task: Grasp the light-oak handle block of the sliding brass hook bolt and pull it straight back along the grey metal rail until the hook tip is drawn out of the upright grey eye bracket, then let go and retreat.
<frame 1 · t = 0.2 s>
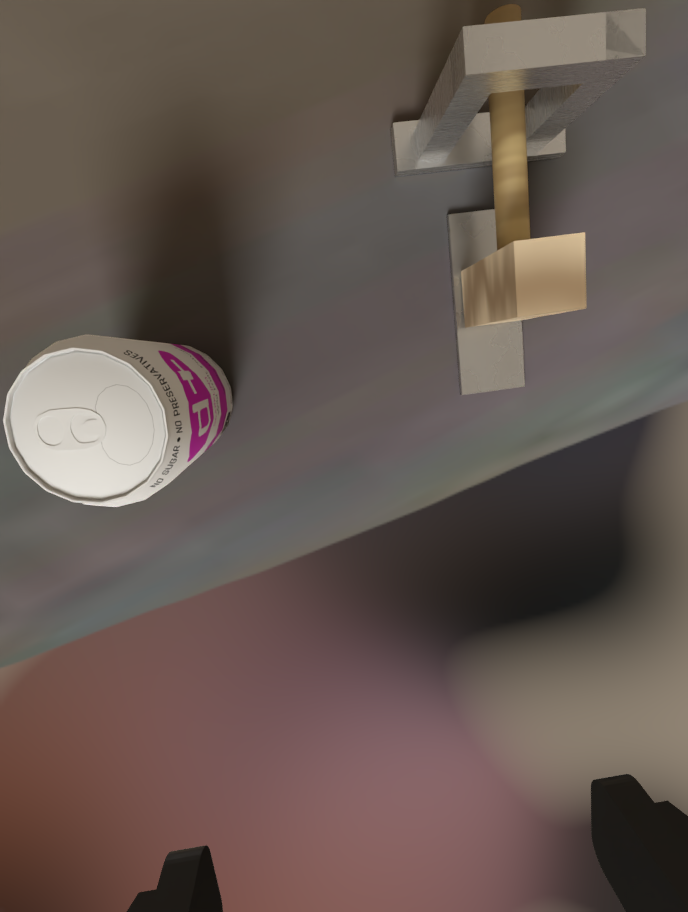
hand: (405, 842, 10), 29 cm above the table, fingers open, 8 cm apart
supplement can: (179, 399, 35), on the table
eye bracket: (475, 144, 33), on the table
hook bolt: (510, 175, 29), point 5 cm above the table, slide at 0.0 cm
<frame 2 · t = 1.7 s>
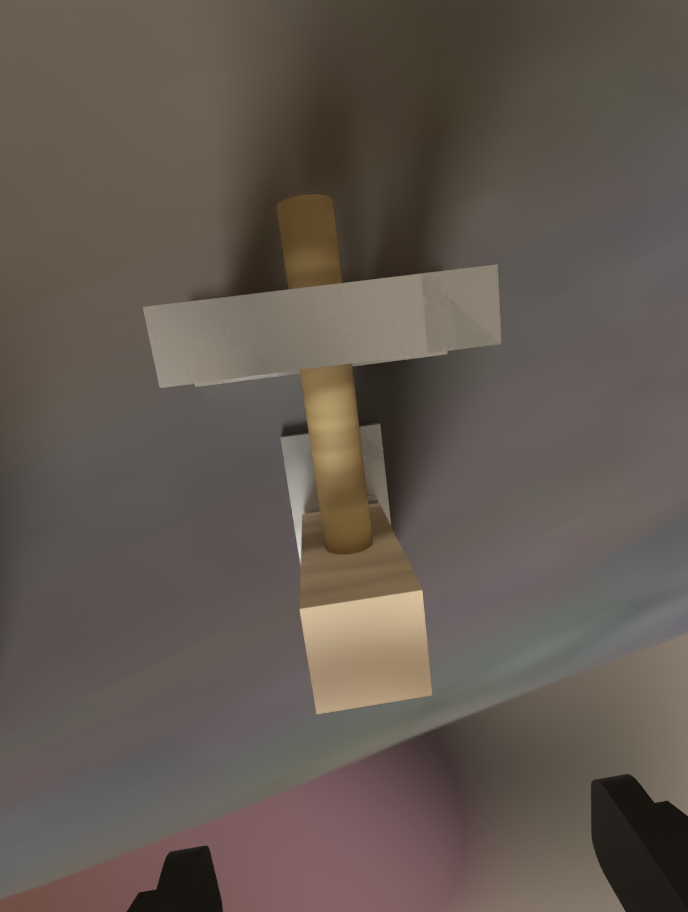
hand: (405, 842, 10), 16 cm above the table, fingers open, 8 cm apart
eye bracket: (318, 338, 23), on the table
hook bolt: (334, 435, 18), point 5 cm above the table, slide at 0.0 cm
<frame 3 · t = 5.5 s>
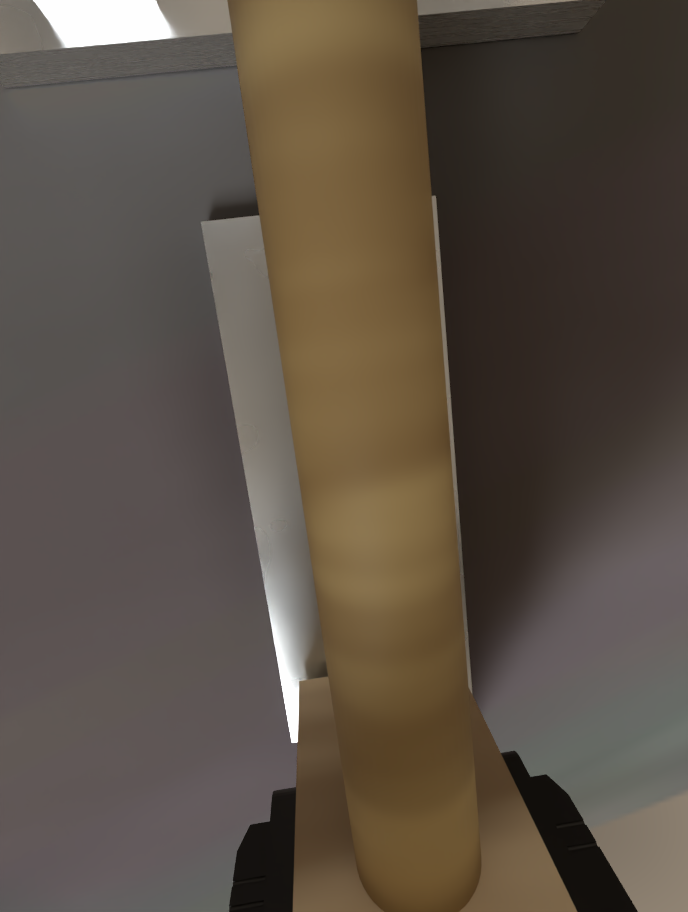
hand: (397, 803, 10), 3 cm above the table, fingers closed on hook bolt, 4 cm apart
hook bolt: (388, 592, 7), point 5 cm above the table, slide at 6.9 cm, touching gripper
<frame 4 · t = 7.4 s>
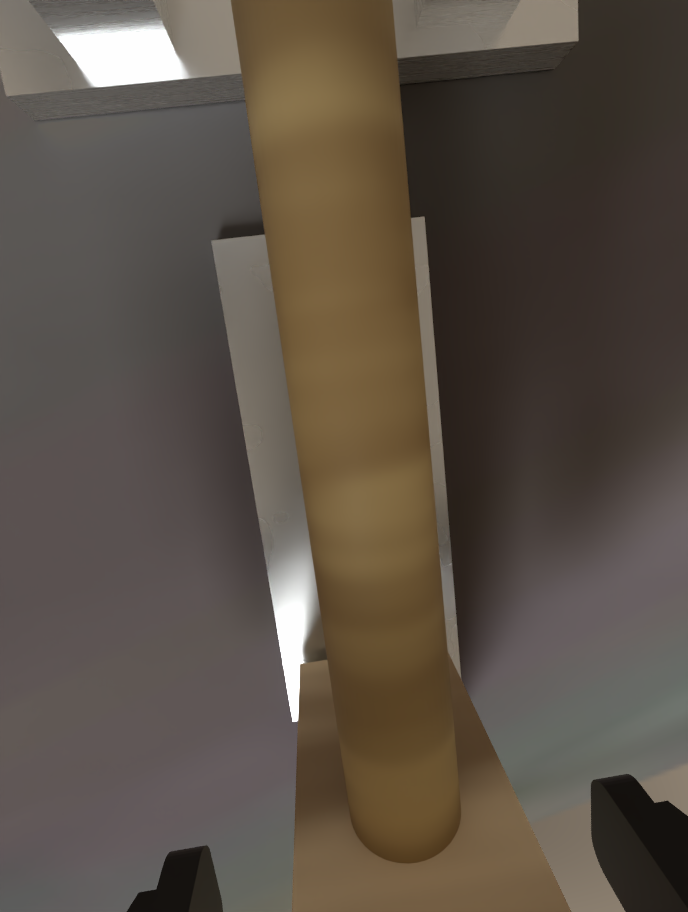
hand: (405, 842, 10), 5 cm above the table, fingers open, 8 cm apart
eye bracket: (291, 18, 10), on the table
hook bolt: (377, 571, 8), point 5 cm above the table, slide at 7.0 cm
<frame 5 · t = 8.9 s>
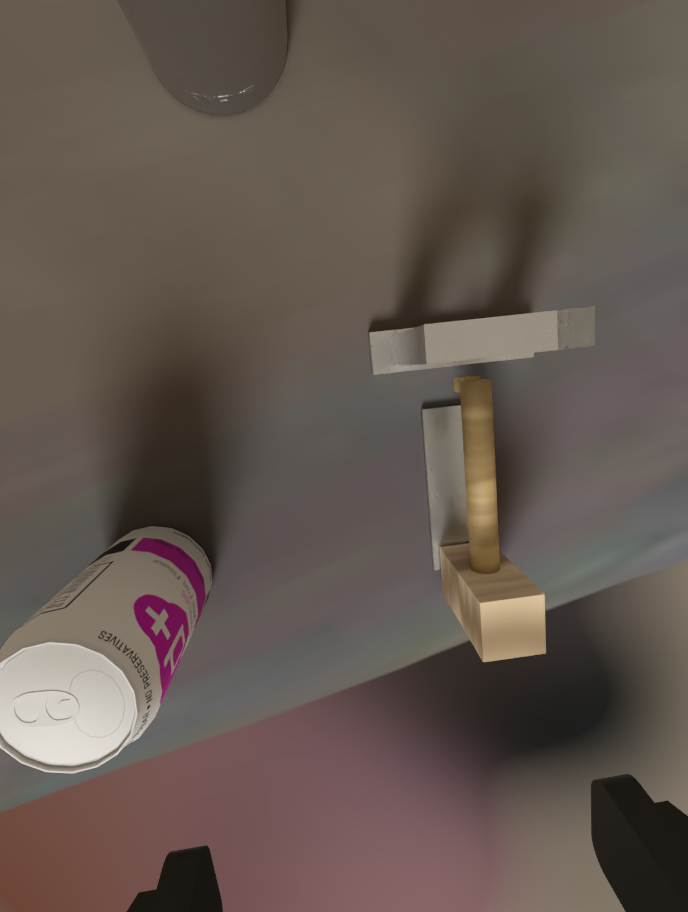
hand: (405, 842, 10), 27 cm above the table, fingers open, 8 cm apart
supplement can: (162, 571, 37), on the table
eye bracket: (449, 345, 35), on the table
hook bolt: (481, 504, 32), point 5 cm above the table, slide at 7.0 cm
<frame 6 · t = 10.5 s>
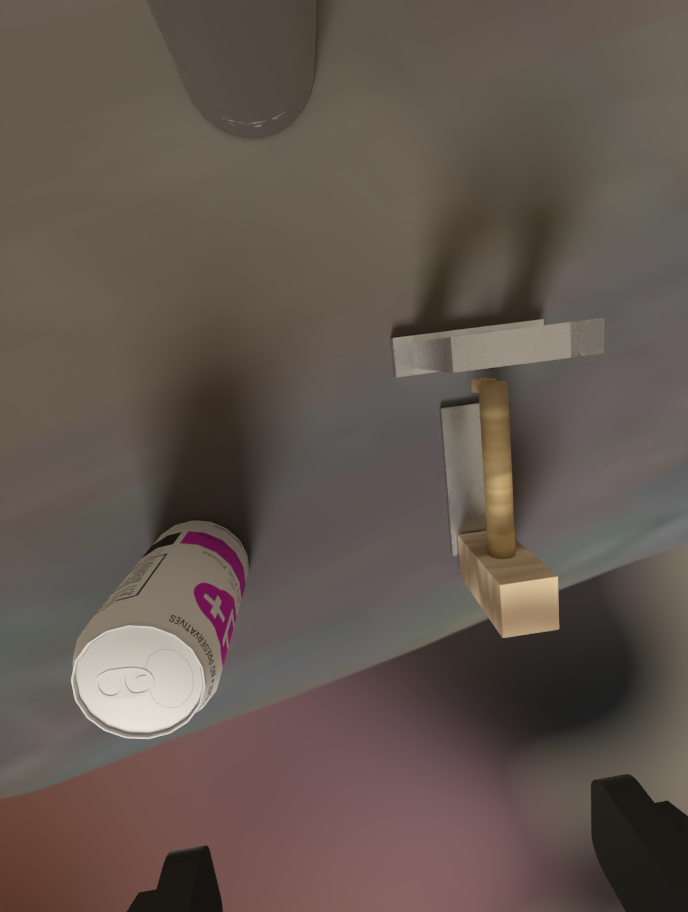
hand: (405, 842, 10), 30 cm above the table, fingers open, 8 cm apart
supplement can: (201, 562, 40), on the table
eye bracket: (465, 348, 38), on the table
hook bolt: (498, 496, 35), point 5 cm above the table, slide at 7.0 cm
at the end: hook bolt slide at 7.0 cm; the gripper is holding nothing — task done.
